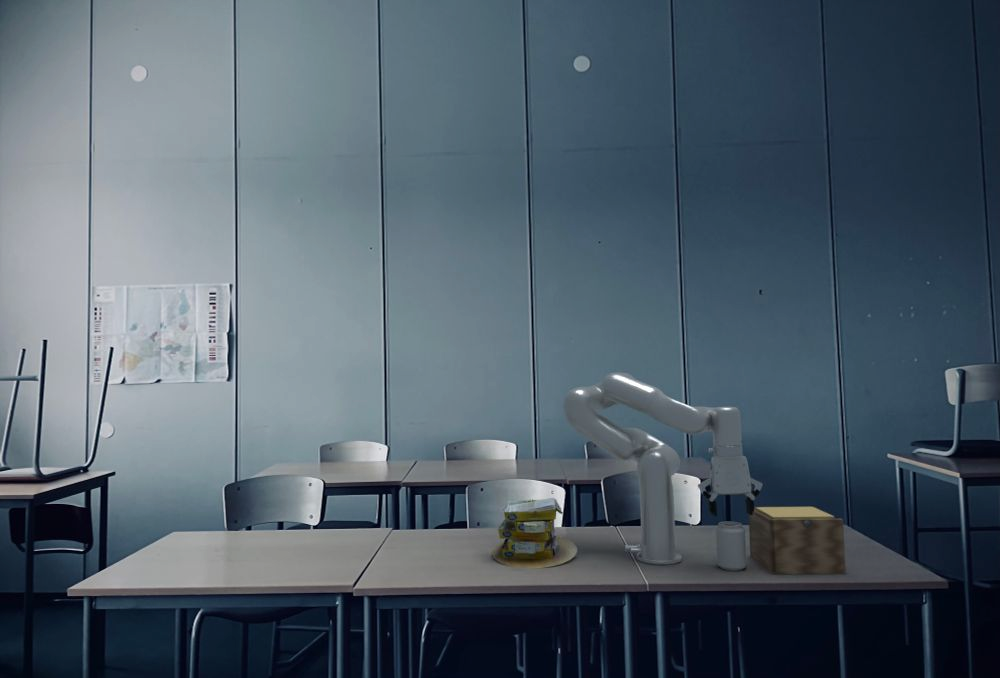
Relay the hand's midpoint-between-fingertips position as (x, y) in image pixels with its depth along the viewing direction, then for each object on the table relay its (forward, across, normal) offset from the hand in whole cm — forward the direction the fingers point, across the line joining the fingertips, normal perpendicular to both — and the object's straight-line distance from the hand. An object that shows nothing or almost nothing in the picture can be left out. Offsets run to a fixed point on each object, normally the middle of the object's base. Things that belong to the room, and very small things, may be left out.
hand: (731, 514), depth 185 cm
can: (+14, -1, 0) cm, 15 cm away
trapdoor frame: (+15, +17, +2) cm, 23 cm away
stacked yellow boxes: (+13, -54, +14) cm, 58 cm away
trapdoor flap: (+1, +17, +2) cm, 18 cm away
